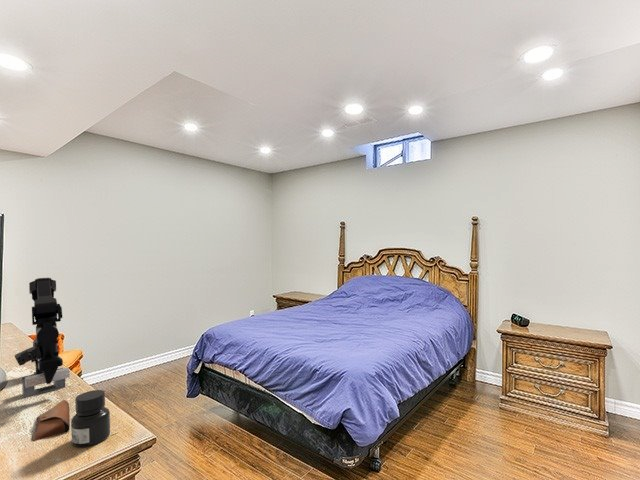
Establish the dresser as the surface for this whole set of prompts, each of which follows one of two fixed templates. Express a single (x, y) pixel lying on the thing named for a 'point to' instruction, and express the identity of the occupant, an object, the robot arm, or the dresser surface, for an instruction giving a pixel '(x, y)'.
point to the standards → (32, 391)
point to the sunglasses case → (53, 421)
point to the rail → (40, 378)
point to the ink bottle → (90, 419)
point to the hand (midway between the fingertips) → (47, 382)
